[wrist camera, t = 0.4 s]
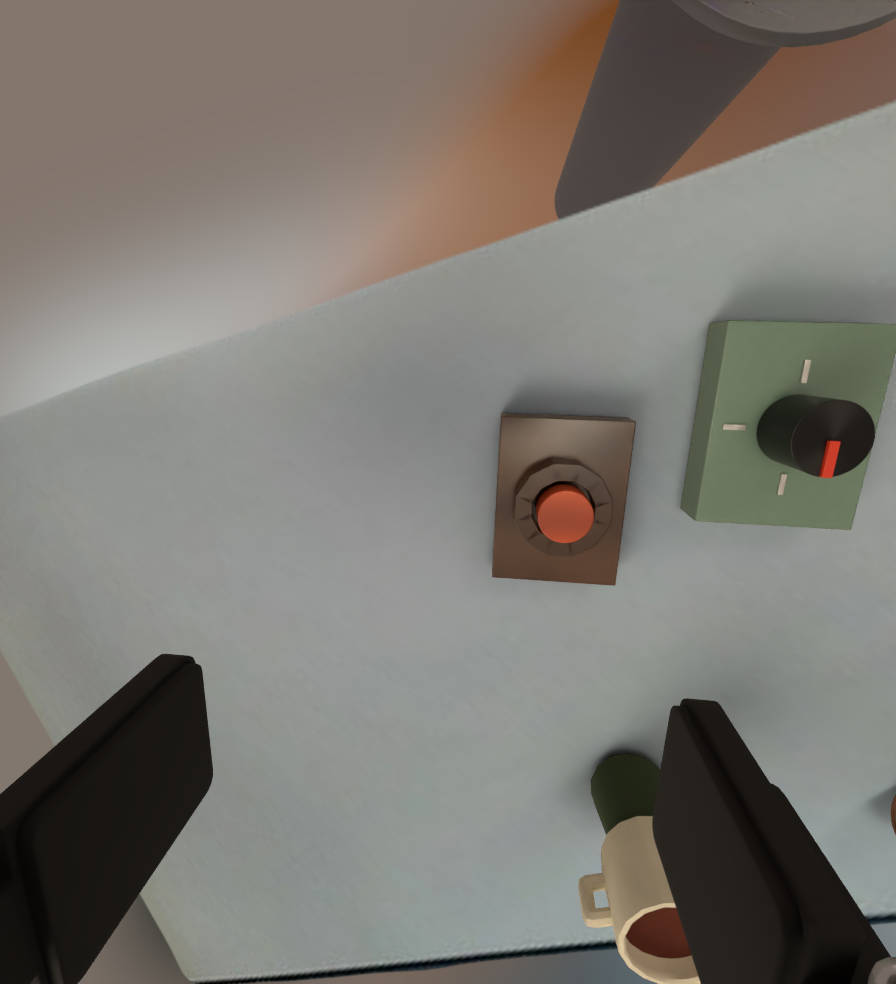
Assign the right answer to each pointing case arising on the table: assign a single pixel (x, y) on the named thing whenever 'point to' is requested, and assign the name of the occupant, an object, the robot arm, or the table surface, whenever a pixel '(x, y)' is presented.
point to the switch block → (554, 461)
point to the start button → (564, 513)
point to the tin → (893, 814)
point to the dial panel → (747, 395)
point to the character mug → (635, 875)
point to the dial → (816, 434)
